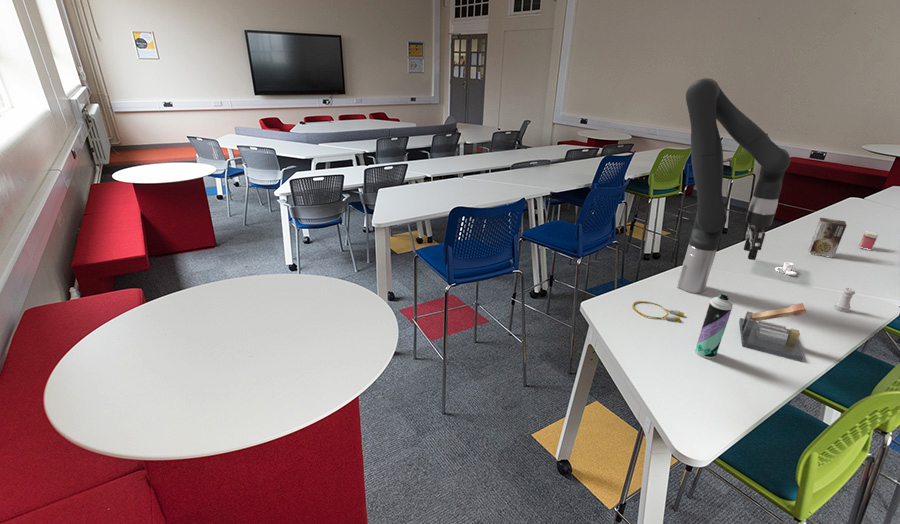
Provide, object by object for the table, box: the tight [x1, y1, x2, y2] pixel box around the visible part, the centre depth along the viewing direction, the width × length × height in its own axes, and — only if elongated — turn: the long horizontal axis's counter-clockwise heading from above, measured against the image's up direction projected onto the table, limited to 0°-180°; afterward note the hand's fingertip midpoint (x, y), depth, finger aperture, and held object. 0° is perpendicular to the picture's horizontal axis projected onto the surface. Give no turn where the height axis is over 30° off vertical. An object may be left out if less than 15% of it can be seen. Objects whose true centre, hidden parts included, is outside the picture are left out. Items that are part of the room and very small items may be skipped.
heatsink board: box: [738, 311, 804, 362], centre depth 137 cm, size 15×16×7 cm
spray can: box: [694, 292, 734, 360], centre depth 127 cm, size 6×6×20 cm
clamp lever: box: [745, 302, 808, 322], centre depth 135 cm, size 15×4×2 cm, turn 62°
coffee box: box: [807, 217, 847, 258], centre depth 201 cm, size 9×6×16 cm
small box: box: [858, 230, 879, 250], centre depth 211 cm, size 5×4×8 cm
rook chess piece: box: [833, 287, 856, 313], centre depth 156 cm, size 4×4×8 cm
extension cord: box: [632, 300, 685, 323], centre depth 152 cm, size 12×16×2 cm
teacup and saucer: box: [774, 261, 798, 276], centre depth 185 cm, size 9×8×4 cm
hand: (749, 254), depth 155 cm, fingers open, 8 cm apart
